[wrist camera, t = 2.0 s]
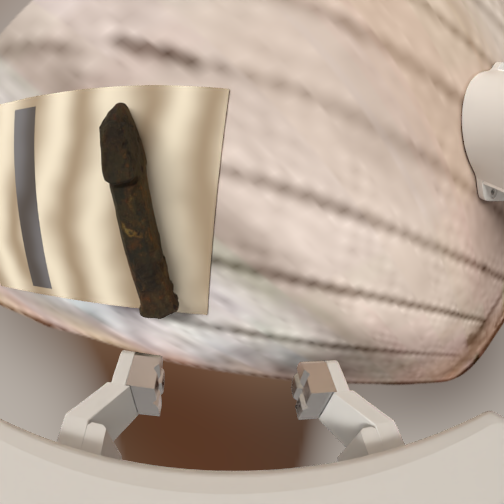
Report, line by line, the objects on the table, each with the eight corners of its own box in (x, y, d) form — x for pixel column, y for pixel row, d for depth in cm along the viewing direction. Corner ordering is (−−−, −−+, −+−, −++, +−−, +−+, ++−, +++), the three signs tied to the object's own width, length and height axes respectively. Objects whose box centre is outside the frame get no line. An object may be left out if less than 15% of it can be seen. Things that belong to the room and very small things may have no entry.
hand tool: (182, 295, 29) (177, 325, 25) (145, 297, 29) (135, 326, 24) (157, 98, 20) (143, 95, 16) (113, 106, 20) (90, 106, 16)
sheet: (229, 90, 21) (229, 89, 21) (207, 308, 31) (207, 314, 30) (-16, 109, 18) (-21, 110, 17) (4, 281, 27) (0, 285, 26)
